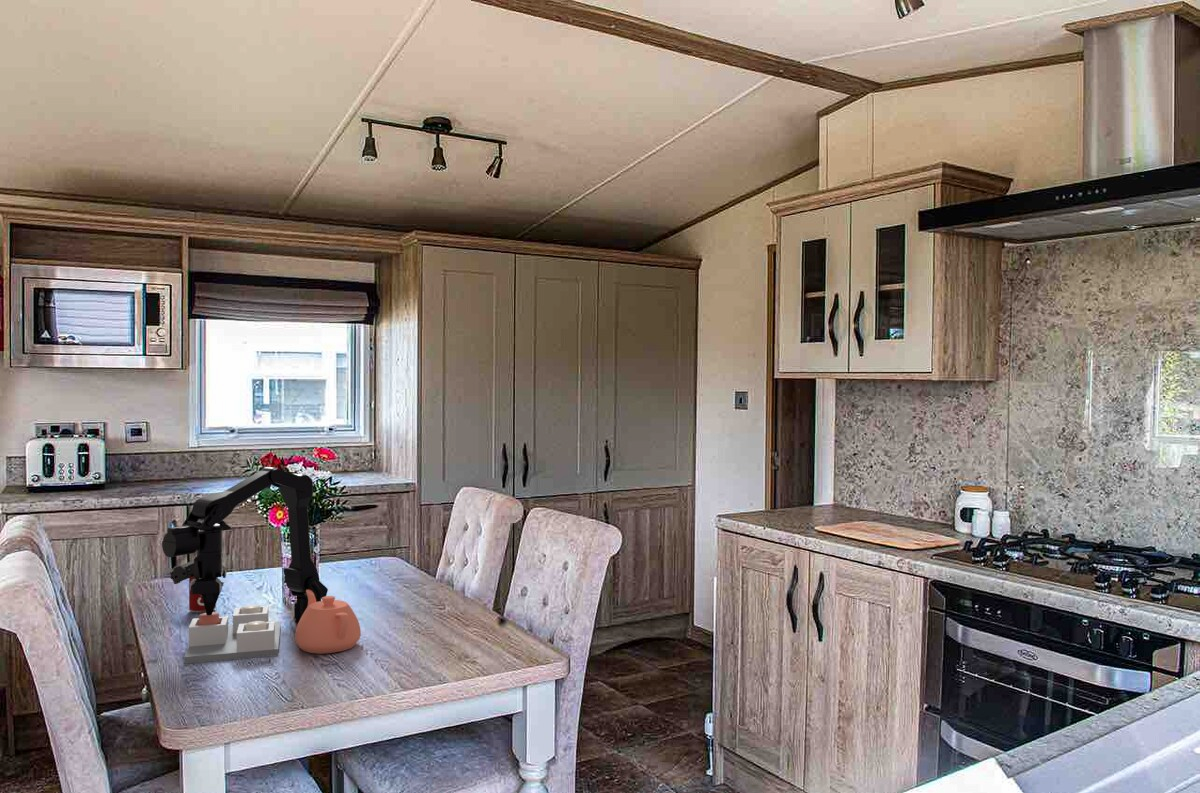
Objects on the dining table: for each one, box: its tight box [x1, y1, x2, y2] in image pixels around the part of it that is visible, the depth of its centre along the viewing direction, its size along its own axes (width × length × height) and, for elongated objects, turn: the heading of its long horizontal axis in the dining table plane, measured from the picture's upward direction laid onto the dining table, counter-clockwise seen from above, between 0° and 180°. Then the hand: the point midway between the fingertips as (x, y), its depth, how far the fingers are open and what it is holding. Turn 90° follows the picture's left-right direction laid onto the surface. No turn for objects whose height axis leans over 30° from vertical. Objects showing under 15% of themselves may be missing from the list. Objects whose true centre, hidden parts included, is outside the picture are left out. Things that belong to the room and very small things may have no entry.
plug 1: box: [242, 604, 261, 614], centre depth 219 cm, size 4×4×5 cm
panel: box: [183, 604, 282, 664], centre depth 211 cm, size 20×24×6 cm
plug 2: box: [246, 621, 266, 631], centre depth 205 cm, size 4×4×5 cm
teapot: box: [294, 590, 362, 655], centre depth 210 cm, size 22×15×12 cm
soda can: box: [188, 576, 217, 614], centre depth 240 cm, size 7×7×12 cm
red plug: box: [198, 611, 220, 626], centre depth 209 cm, size 4×4×5 cm
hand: (209, 614), depth 209 cm, fingers closed, pressing on red plug
